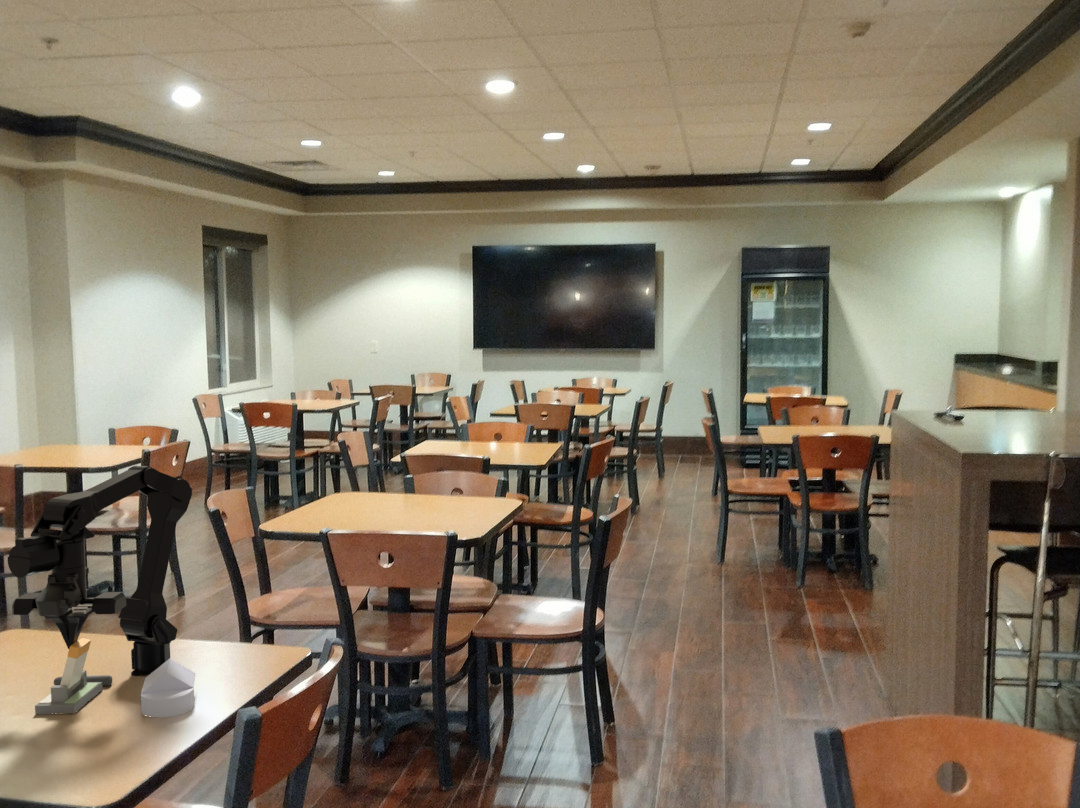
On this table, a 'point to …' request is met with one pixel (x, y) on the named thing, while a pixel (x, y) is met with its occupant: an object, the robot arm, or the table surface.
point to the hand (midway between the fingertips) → (71, 648)
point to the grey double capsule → (92, 679)
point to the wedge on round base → (168, 691)
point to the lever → (75, 664)
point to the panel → (68, 697)
